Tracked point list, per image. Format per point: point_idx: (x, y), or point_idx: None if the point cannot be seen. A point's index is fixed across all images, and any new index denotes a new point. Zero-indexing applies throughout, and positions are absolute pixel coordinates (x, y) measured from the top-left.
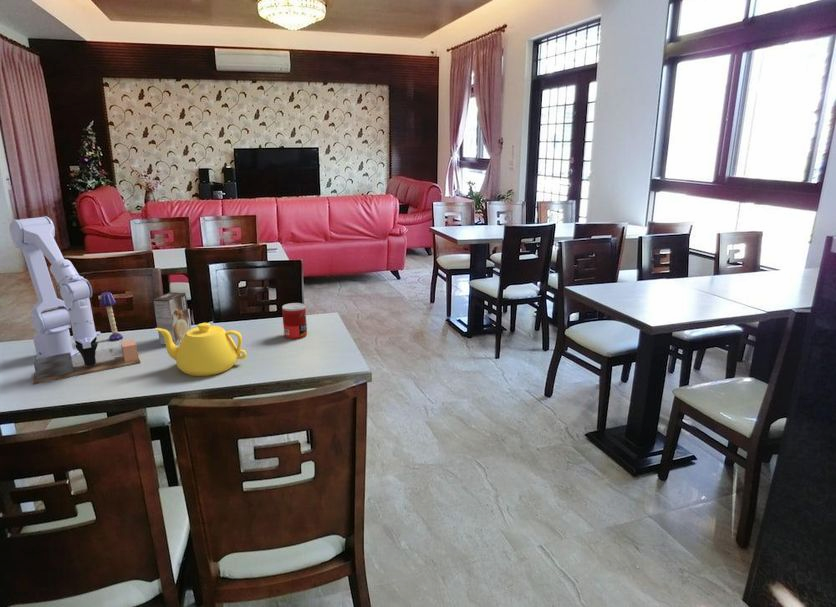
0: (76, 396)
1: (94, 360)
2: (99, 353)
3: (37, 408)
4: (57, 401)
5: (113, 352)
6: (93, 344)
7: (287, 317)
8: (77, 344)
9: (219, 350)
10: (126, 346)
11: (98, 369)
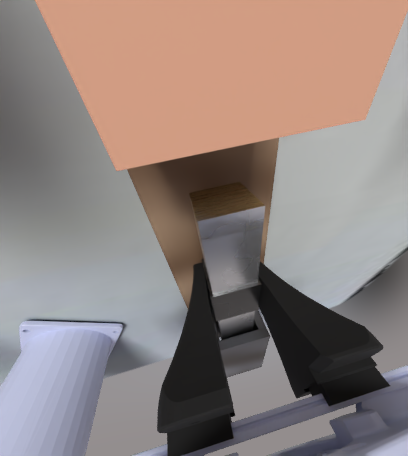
0: (393, 236)
1: (261, 262)
2: (254, 269)
3: (373, 278)
4: (377, 261)
5: (260, 202)
6: (364, 356)
7: None
8: (300, 396)
9: None
10: (389, 47)
11: (266, 228)
